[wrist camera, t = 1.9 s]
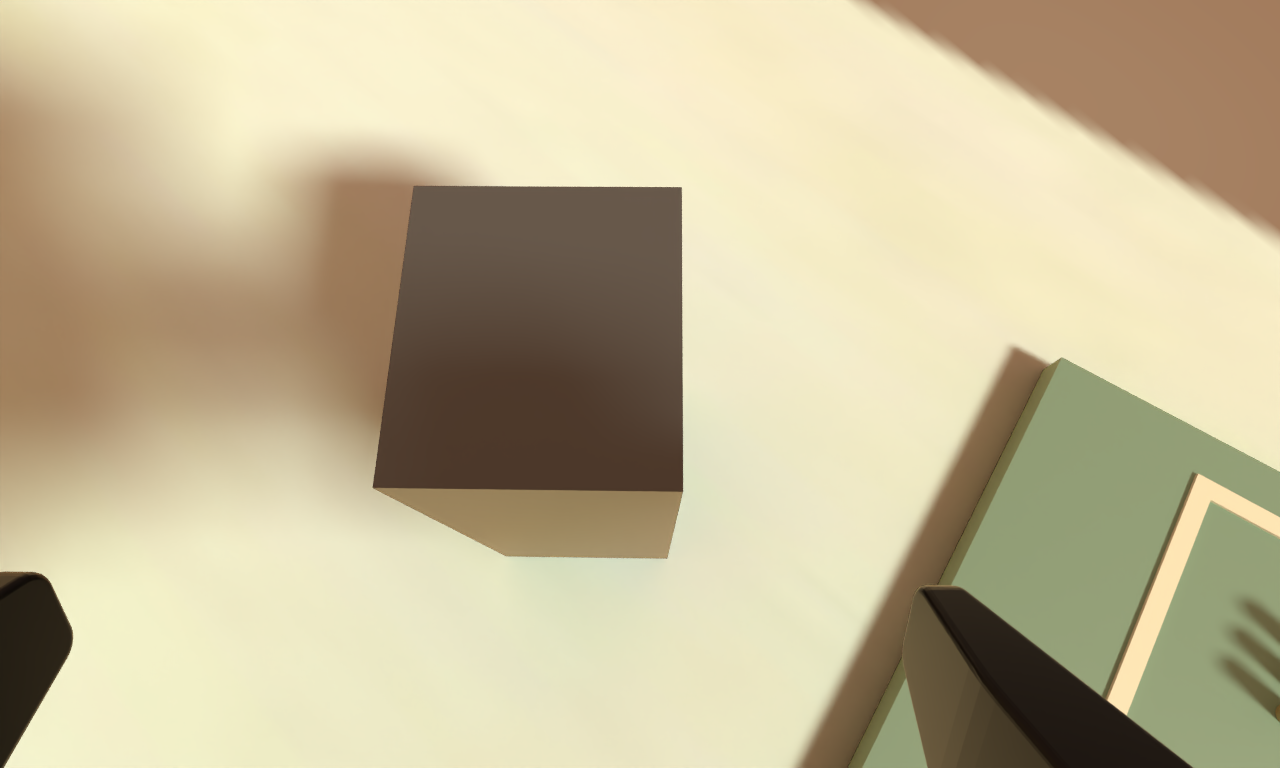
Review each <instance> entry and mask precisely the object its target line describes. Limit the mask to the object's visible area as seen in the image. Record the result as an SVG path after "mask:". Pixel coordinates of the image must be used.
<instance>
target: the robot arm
mask: <svg viewBox="0 0 1280 768" xmlns="http://www.w3.org/2000/svg"><path fill="white" fill-rule="evenodd" d="M72 644H73V630H72V627H71V625H70V623H69V621H68V619H67V616H66V614H65V612H64V610H63V608H62V606H61V604H60V602H59V599H58V597H57V595H56V593H55V591H54V589H53V587H52V584H51V583H50V581H49V580H48V579H47V578H46V577H45V576H43V575H42V574H39V573H36V572H0V768H4V766H5V765H6V763H7V761H8V759H9V758H10V756H11V754H12V753H13V751H14V749H15V747H16V746H17V744H18V742H19V740H20V739H21V737H22V735H23V733H24V732H25V730H26V728H27V727H28V725H29V723H30V721H31V720H32V718H33V716H34V714H35V713H36V711H37V709H38V708H39V706H40V704H41V702H42V701H43V699H44V697H45V695H46V694H47V692H48V690H49V688H50V687H51V685H52V683H53V682H54V680H55V678H56V676H57V675H58V673H59V671H60V669H61V668H62V666H63V664H64V662H65V661H66V659H67V657H68V655H69V653H70V651H71V647H72ZM902 656H903V666H904V671H905V675H906V679H907V683H908V688H909V692H910V696H911V700H912V704H913V709H914V713H915V717H916V721H917V726H918V730H919V734H920V738H921V742H922V747H923V751H924V755H925V759H926V764H927V768H1193V767H1192V766H1191V765H1190V764H1188V763H1187V762H1186V761H1184V760H1183V759H1182V758H1181V757H1179V756H1178V755H1177V754H1175V753H1174V752H1173V751H1172V750H1170V749H1169V748H1168V747H1167V746H1165V745H1164V744H1163V743H1161V742H1160V741H1159V740H1158V739H1156V738H1155V737H1154V736H1152V735H1151V734H1150V733H1149V732H1147V731H1146V730H1145V729H1143V728H1142V727H1141V726H1140V725H1138V724H1137V723H1136V722H1134V721H1133V720H1132V719H1131V718H1129V717H1128V716H1127V715H1125V714H1124V713H1123V712H1122V711H1120V710H1119V709H1118V708H1116V707H1115V706H1114V705H1113V704H1111V703H1110V702H1109V701H1107V700H1106V699H1105V698H1104V697H1102V696H1101V695H1100V694H1098V693H1097V692H1096V691H1095V690H1093V689H1092V688H1091V687H1089V686H1088V685H1087V684H1086V683H1084V682H1083V681H1082V680H1080V679H1079V678H1078V677H1077V676H1075V675H1074V674H1073V673H1072V672H1070V671H1069V670H1068V669H1066V668H1065V667H1064V666H1063V665H1061V664H1060V663H1059V662H1057V661H1056V660H1055V659H1054V658H1052V657H1051V656H1050V655H1048V654H1047V653H1046V652H1045V651H1043V650H1042V649H1041V648H1039V647H1038V646H1037V645H1036V644H1034V643H1033V642H1032V641H1030V640H1029V639H1028V638H1027V637H1025V636H1024V635H1023V634H1021V633H1020V632H1019V631H1018V630H1016V629H1015V628H1014V627H1012V626H1011V625H1010V624H1009V623H1007V622H1006V621H1005V620H1003V619H1002V618H1001V617H1000V616H998V615H997V614H996V613H994V612H993V611H992V610H991V609H989V608H988V607H987V606H986V605H984V604H983V603H982V602H980V601H979V600H978V599H977V598H975V597H974V596H973V595H971V594H970V593H969V592H968V591H966V590H965V589H963V588H961V587H959V586H953V585H923V586H921V587H919V588H918V589H917V590H916V592H915V594H914V596H913V600H912V605H911V609H910V614H909V618H908V623H907V627H906V632H905V636H904V641H903V649H902Z"/></svg>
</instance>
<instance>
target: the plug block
mask: <svg viewBox="0 0 1280 768" xmlns="http://www.w3.org/2000/svg"><path fill="white" fill-rule="evenodd" d="M373 488H374V489H376V490H378V491H380V492H382V493H384V494H385V495H387V496H389V497H391V498H393V499H395V500H397V501H399V502H401V503H403V504H405V505H407V506H409V507H411V508H413V509H415V510H417V511H419V512H421V513H423V514H425V515H427V516H428V517H430V518H432V519H434V520H436V521H438V522H440V523H442V524H444V525H446V526H448V527H450V528H452V529H454V530H456V531H458V532H460V533H462V534H464V535H466V536H468V537H470V538H472V539H473V540H475V541H477V542H479V543H481V544H483V545H485V546H487V547H489V548H491V549H493V550H495V551H497V552H499V553H501V554H503V555H505V556H524V557H595V558H666V559H667V557H668V553H669V549H670V544H671V540H672V536H673V532H674V528H675V523H676V519H677V515H678V511H679V506H680V502H681V498H682V494H683V384H682V187H506V186H414V188H413V196H412V203H411V210H410V218H409V225H408V232H407V240H406V247H405V254H404V262H403V269H402V277H401V284H400V291H399V299H398V306H397V313H396V321H395V328H394V335H393V343H392V350H391V357H390V365H389V372H388V379H387V387H386V394H385V401H384V409H383V416H382V423H381V431H380V438H379V445H378V453H377V460H376V467H375V475H374V482H373Z"/></svg>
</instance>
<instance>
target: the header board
mask: <svg viewBox="0 0 1280 768" xmlns="http://www.w3.org/2000/svg"><path fill="white" fill-rule="evenodd" d="M938 585H953V586H959V587H961V588H963V589H965V590H966V591H968V592H969V593H970V594H971V595H973V596H974V597H975V598H977V599H978V600H979V601H980V602H982V603H983V604H984V605H986V606H987V607H988V608H989V609H991V610H992V611H993V612H994V613H996V614H997V615H998V616H1000V617H1001V618H1002V619H1003V620H1005V621H1006V622H1007V623H1009V624H1010V625H1011V626H1012V627H1014V628H1015V629H1016V630H1018V631H1019V632H1020V633H1021V634H1023V635H1024V636H1025V637H1027V638H1028V639H1029V640H1030V641H1032V642H1033V643H1034V644H1036V645H1037V646H1038V647H1039V648H1041V649H1042V650H1043V651H1045V652H1046V653H1047V654H1048V655H1050V656H1051V657H1052V658H1054V659H1055V660H1056V661H1057V662H1059V663H1060V664H1061V665H1063V666H1064V667H1065V668H1066V669H1068V670H1069V671H1070V672H1072V673H1073V674H1074V675H1075V676H1077V677H1078V678H1079V679H1080V680H1082V681H1083V682H1084V683H1086V684H1087V685H1088V686H1089V687H1091V688H1092V689H1093V690H1095V691H1096V692H1097V693H1098V694H1100V695H1101V696H1102V697H1104V698H1105V699H1106V700H1107V701H1109V702H1110V703H1111V704H1113V705H1114V706H1115V707H1116V708H1118V709H1119V710H1120V711H1122V712H1123V713H1124V714H1125V715H1127V716H1128V717H1129V718H1131V719H1132V720H1133V721H1134V722H1136V723H1137V724H1138V725H1140V726H1141V727H1142V728H1143V729H1145V730H1146V731H1147V732H1149V733H1150V734H1151V735H1152V736H1154V737H1155V738H1156V739H1158V740H1159V741H1160V742H1161V743H1163V744H1164V745H1165V746H1167V747H1168V748H1169V749H1170V750H1172V751H1173V752H1174V753H1175V754H1177V755H1178V756H1179V757H1181V758H1182V759H1183V760H1184V761H1186V762H1187V763H1188V764H1190V765H1191V766H1192V767H1193V768H1280V472H1279V471H1277V470H1275V469H1273V468H1271V467H1269V466H1267V465H1265V464H1264V463H1262V462H1260V461H1258V460H1256V459H1254V458H1252V457H1250V456H1248V455H1246V454H1245V453H1243V452H1241V451H1239V450H1237V449H1235V448H1233V447H1231V446H1229V445H1227V444H1226V443H1224V442H1222V441H1220V440H1218V439H1216V438H1214V437H1212V436H1210V435H1208V434H1207V433H1205V432H1203V431H1201V430H1199V429H1197V428H1195V427H1193V426H1191V425H1189V424H1188V423H1186V422H1184V421H1182V420H1180V419H1178V418H1176V417H1174V416H1172V415H1170V414H1169V413H1167V412H1165V411H1163V410H1161V409H1159V408H1157V407H1155V406H1153V405H1151V404H1149V403H1148V402H1146V401H1144V400H1142V399H1140V398H1138V397H1136V396H1134V395H1132V394H1130V393H1129V392H1127V391H1125V390H1123V389H1121V388H1119V387H1117V386H1115V385H1113V384H1111V383H1110V382H1108V381H1106V380H1104V379H1102V378H1100V377H1098V376H1096V375H1094V374H1092V373H1091V372H1089V371H1087V370H1085V369H1083V368H1081V367H1079V366H1077V365H1075V364H1073V363H1072V362H1070V361H1068V360H1066V359H1064V358H1060V359H1059V360H1057V361H1056V362H1054V363H1053V364H1051V365H1050V366H1048V367H1047V368H1045V369H1044V370H1043V372H1042V374H1041V376H1040V378H1039V380H1038V382H1037V384H1036V386H1035V388H1034V390H1033V392H1032V394H1031V396H1030V398H1029V400H1028V402H1027V404H1026V406H1025V408H1024V410H1023V412H1022V414H1021V416H1020V418H1019V420H1018V422H1017V424H1016V426H1015V428H1014V430H1013V433H1012V435H1011V437H1010V439H1009V441H1008V443H1007V445H1006V447H1005V449H1004V451H1003V453H1002V455H1001V457H1000V459H999V461H998V463H997V465H996V467H995V469H994V471H993V473H992V475H991V477H990V479H989V481H988V483H987V485H986V487H985V489H984V491H983V493H982V496H981V498H980V500H979V502H978V504H977V506H976V508H975V510H974V512H973V514H972V516H971V518H970V520H969V522H968V524H967V526H966V528H965V530H964V532H963V534H962V536H961V538H960V540H959V542H958V544H957V546H956V548H955V550H954V552H953V554H952V556H951V559H950V561H949V563H948V565H947V567H946V569H945V571H944V573H943V575H942V577H941V579H940V581H939V583H938ZM848 768H927V764H926V759H925V755H924V751H923V747H922V742H921V738H920V734H919V730H918V726H917V721H916V717H915V713H914V709H913V704H912V700H911V696H910V692H909V688H908V683H907V679H906V675H905V671H904V666H903V656H902V658H901V660H900V662H899V664H898V666H897V668H896V670H895V672H894V674H893V676H892V678H891V680H890V683H889V685H888V687H887V689H886V691H885V693H884V695H883V697H882V699H881V701H880V703H879V705H878V707H877V709H876V711H875V713H874V715H873V717H872V719H871V721H870V723H869V725H868V727H867V729H866V731H865V733H864V735H863V737H862V739H861V741H860V743H859V746H858V748H857V750H856V752H855V754H854V756H853V758H852V760H851V762H850V764H849V766H848Z"/></svg>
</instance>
